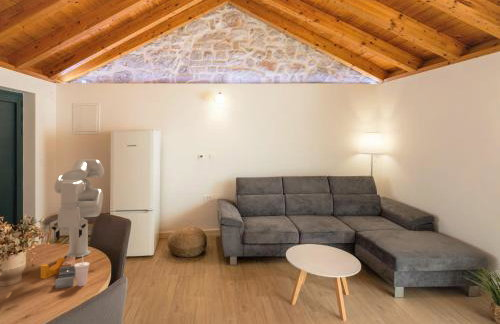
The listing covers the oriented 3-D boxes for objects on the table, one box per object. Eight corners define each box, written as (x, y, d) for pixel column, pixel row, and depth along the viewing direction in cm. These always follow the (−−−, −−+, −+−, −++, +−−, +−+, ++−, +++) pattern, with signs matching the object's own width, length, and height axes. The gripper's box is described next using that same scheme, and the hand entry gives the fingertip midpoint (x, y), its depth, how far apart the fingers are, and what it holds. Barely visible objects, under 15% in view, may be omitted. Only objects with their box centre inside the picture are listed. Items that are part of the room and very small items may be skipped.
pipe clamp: (57, 269, 162) (57, 257, 161) (64, 270, 161) (64, 257, 161) (37, 278, 150) (37, 265, 150) (45, 279, 149) (45, 266, 149)
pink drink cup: (78, 288, 139) (78, 258, 138) (71, 285, 142) (71, 255, 142) (92, 283, 144) (92, 254, 144) (84, 280, 148) (85, 252, 147)
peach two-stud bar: (66, 266, 166) (66, 256, 166) (75, 265, 168) (75, 255, 168) (61, 274, 155) (61, 263, 155) (70, 273, 157) (70, 263, 156)
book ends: (59, 275, 153) (60, 267, 153) (75, 273, 156) (75, 265, 156) (55, 288, 138) (55, 280, 138) (73, 286, 141) (73, 277, 141)
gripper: (88, 203, 166) (88, 234, 167) (50, 205, 158) (50, 237, 159) (87, 205, 159) (87, 238, 160) (48, 207, 151) (48, 241, 152)
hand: (69, 237), depth 160 cm, fingers open, 9 cm apart
